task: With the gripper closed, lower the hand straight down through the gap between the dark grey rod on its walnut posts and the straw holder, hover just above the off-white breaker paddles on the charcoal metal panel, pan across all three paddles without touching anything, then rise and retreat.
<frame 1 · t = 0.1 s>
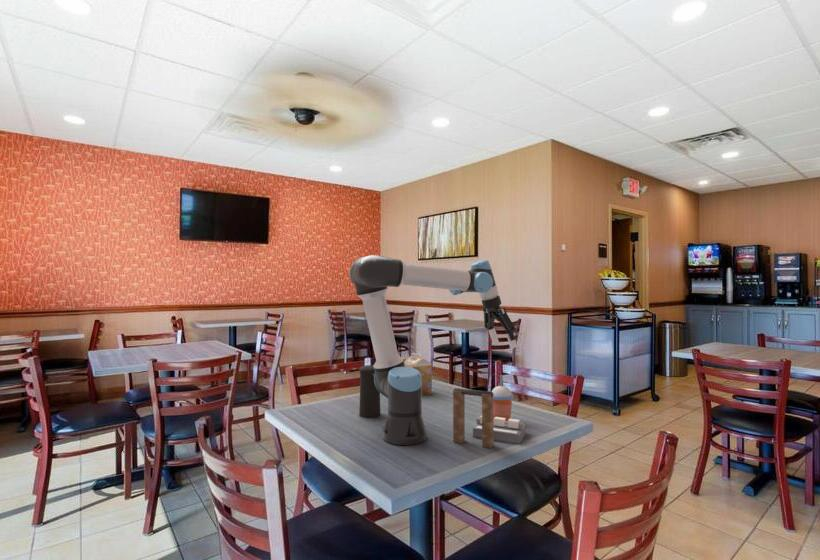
hand: (504, 345, 179), 28 cm above the table, tool tilted 20°, fingers open, 13 cm apart
cord posts: (473, 443, 144), on the table
breaker panel: (499, 434, 153), on the table
cup with straw: (501, 422, 167), on the table
breaker paddles: (499, 421, 153), point 5 cm above the table, hinge at 0.0°
milk carton: (417, 392, 214), on the table
container: (369, 415, 177), on the table
dark grey rod: (473, 395, 145), point 16 cm above the table, touching cord posts
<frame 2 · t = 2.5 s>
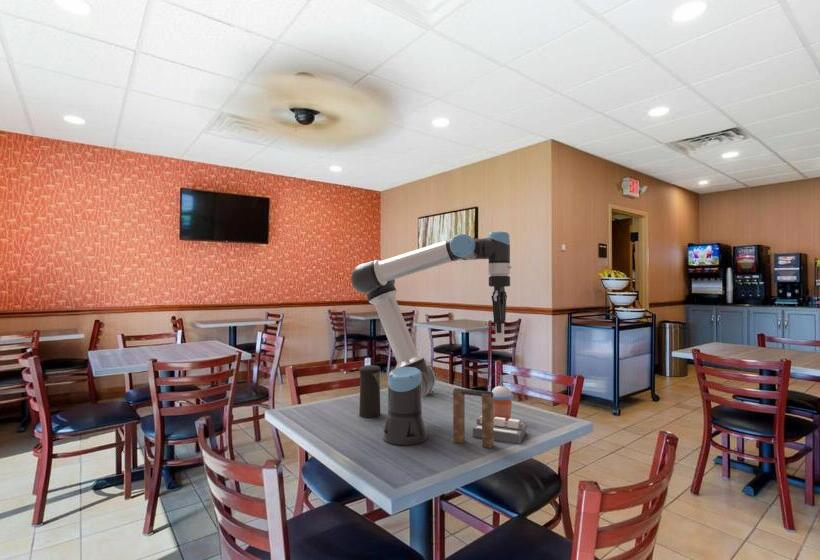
hand: (499, 341, 153), 33 cm above the table, tool pointing down, fingers closed
nothing on the table moved.
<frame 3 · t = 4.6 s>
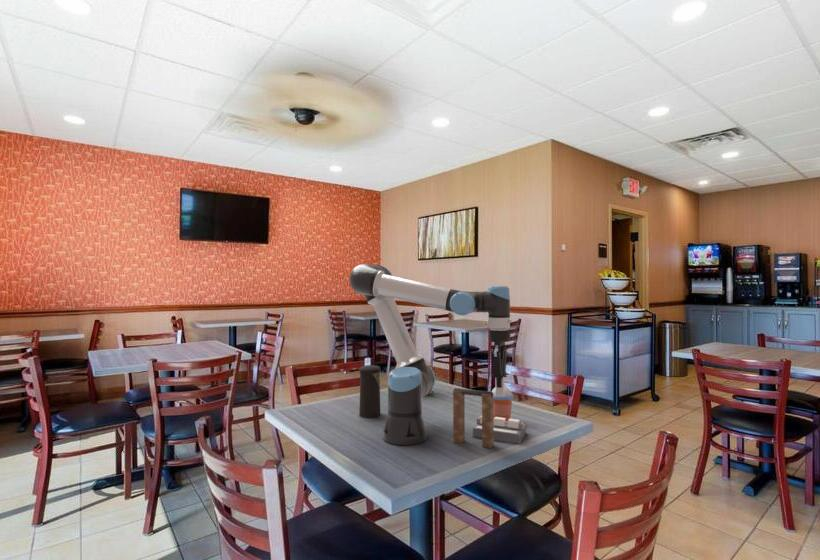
hand: (500, 396, 153), 14 cm above the table, tool pointing down, fingers closed
nothing on the table moved.
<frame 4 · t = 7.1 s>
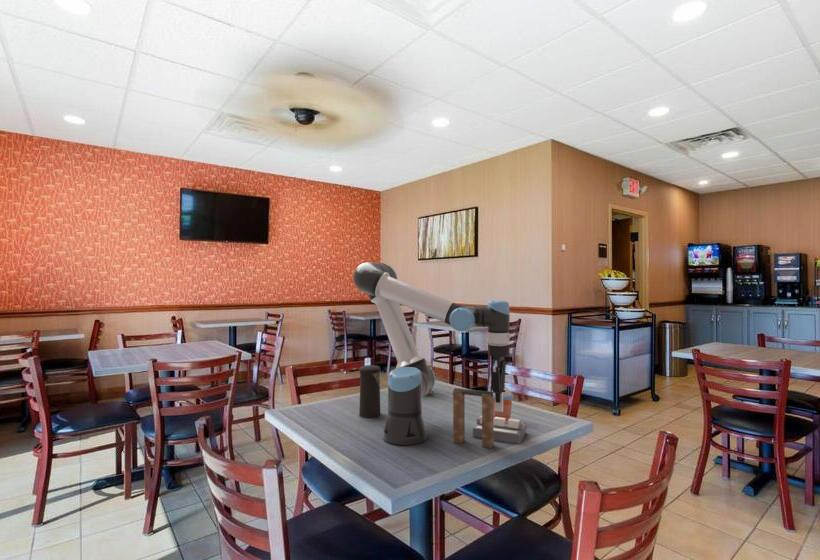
hand: (498, 410, 153), 8 cm above the table, tool pointing down, fingers closed
nothing on the table moved.
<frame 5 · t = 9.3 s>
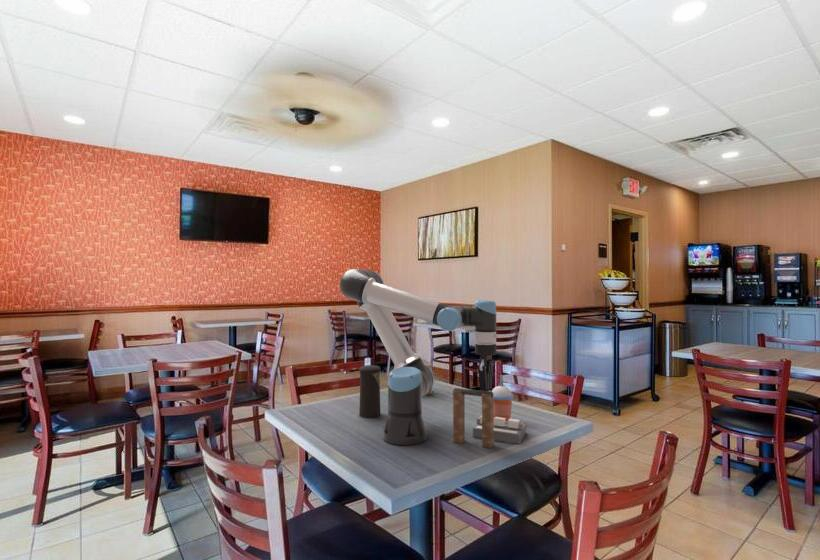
hand: (486, 409, 155), 8 cm above the table, tool pointing down, fingers closed
nothing on the table moved.
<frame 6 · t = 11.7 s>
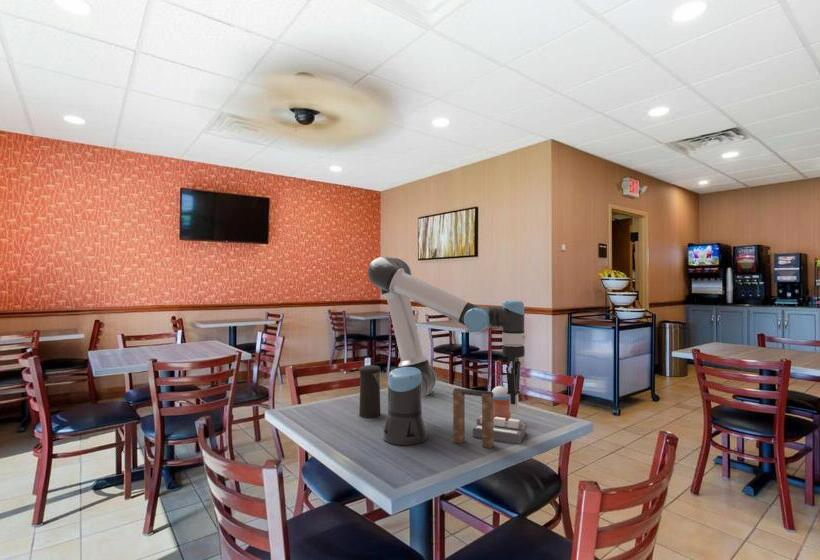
hand: (513, 412, 150), 8 cm above the table, tool pointing down, fingers closed
nothing on the table moved.
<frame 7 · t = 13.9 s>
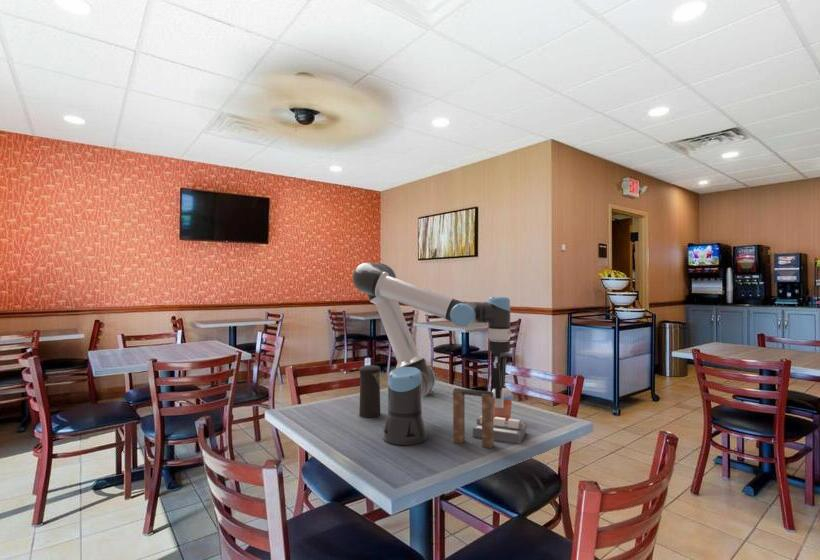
hand: (499, 407, 153), 10 cm above the table, tool pointing down, fingers closed
nothing on the table moved.
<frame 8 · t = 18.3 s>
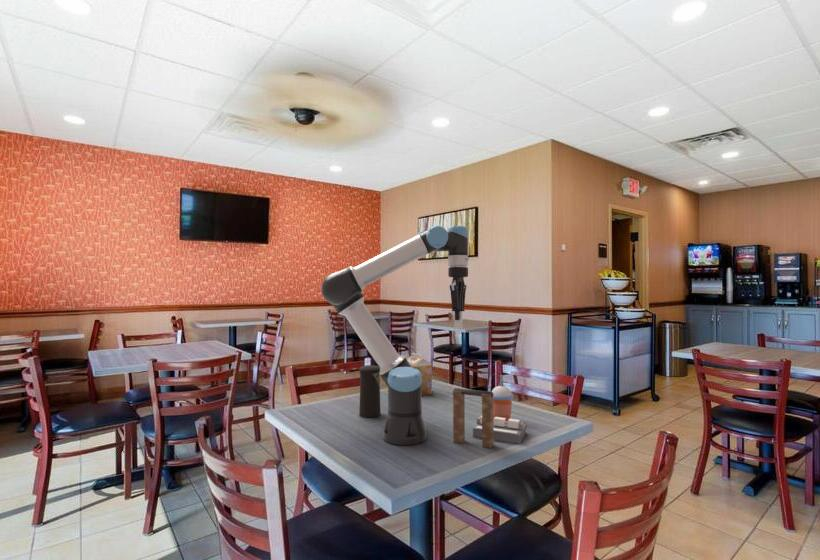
hand: (458, 328, 165), 36 cm above the table, tool pointing down, fingers closed
nothing on the table moved.
at the end: breaker paddles at +0° (first picture: +0°); dark grey rod moved 0.1 cm from its start; cup with straw moved 0.2 cm from its start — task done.
